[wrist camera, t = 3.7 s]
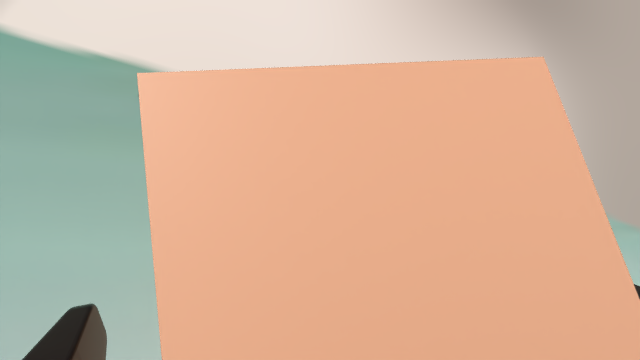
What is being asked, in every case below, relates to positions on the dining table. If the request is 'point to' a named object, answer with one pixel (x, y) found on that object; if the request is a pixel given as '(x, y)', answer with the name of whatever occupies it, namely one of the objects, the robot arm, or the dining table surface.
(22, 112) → the dining table surface
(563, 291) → the peach block
